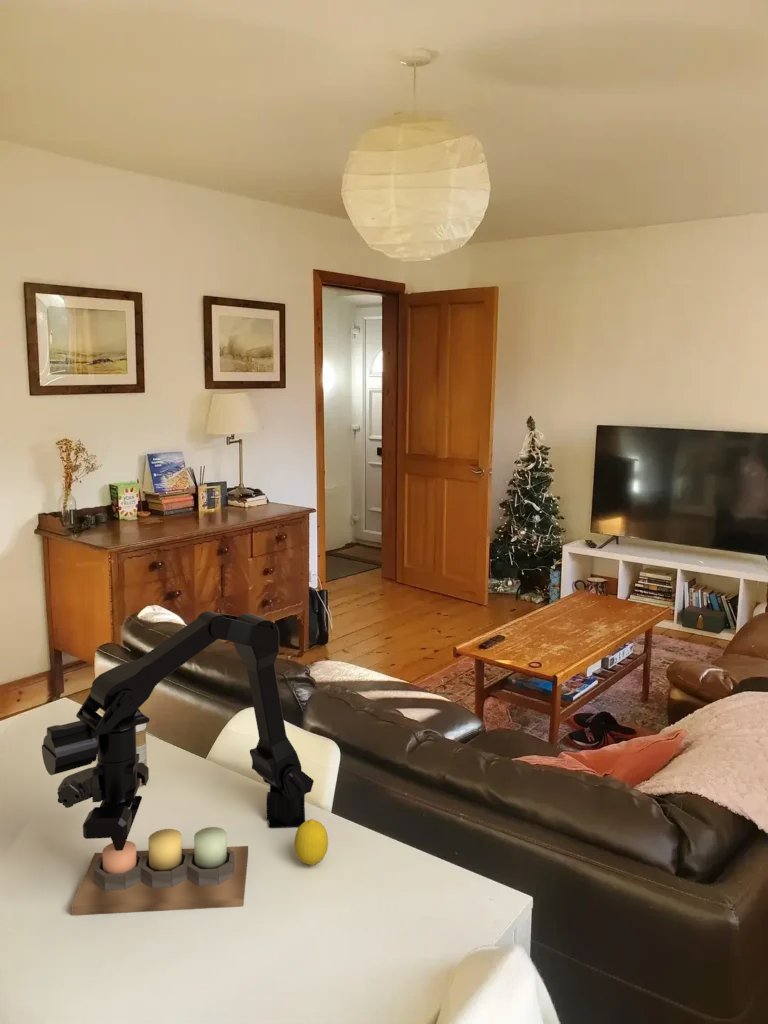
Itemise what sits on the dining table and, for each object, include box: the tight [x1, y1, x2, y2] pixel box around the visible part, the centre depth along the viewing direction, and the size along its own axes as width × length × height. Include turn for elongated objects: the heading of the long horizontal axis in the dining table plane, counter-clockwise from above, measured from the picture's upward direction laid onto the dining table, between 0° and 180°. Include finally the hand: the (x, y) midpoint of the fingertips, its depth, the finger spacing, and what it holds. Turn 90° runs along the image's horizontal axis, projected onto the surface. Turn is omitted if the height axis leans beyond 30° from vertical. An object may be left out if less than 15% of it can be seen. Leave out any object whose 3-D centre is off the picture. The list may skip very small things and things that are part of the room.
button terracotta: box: [102, 840, 137, 874], centre depth 124 cm, size 5×5×4 cm
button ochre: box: [148, 828, 183, 870], centre depth 125 cm, size 5×5×4 cm
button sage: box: [193, 826, 228, 868], centre depth 125 cm, size 5×5×4 cm
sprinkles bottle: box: [136, 723, 148, 787], centre depth 157 cm, size 5×5×13 cm
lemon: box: [294, 818, 329, 867], centre depth 130 cm, size 6×6×8 cm
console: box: [71, 845, 249, 916], centre depth 125 cm, size 25×14×4 cm, turn 97°
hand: (119, 849), depth 124 cm, fingers closed, pressing on button terracotta
